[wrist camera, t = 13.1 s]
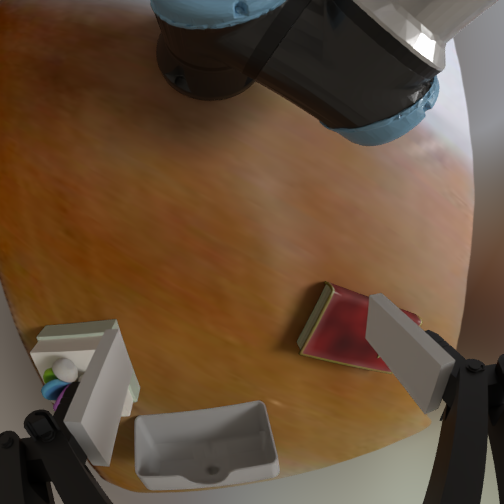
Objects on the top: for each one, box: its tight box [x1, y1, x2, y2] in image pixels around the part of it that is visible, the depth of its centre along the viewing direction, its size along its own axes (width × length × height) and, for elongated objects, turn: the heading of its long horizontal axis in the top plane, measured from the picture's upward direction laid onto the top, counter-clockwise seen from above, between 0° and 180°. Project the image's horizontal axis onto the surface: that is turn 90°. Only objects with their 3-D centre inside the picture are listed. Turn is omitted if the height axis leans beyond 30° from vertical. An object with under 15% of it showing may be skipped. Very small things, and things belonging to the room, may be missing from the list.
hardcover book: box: [297, 281, 423, 374], centre depth 51 cm, size 12×21×4 cm, turn 67°
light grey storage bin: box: [134, 400, 280, 490], centre depth 49 cm, size 25×16×12 cm, turn 97°
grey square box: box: [30, 319, 140, 416], centre depth 43 cm, size 14×14×8 cm
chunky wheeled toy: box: [41, 358, 84, 411], centre depth 35 cm, size 8×10×7 cm
